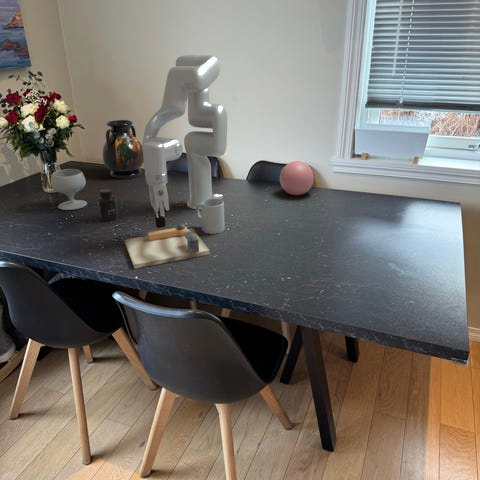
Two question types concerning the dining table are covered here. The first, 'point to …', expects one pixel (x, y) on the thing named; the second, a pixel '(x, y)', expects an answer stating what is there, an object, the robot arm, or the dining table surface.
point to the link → (166, 233)
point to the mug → (211, 215)
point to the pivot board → (165, 248)
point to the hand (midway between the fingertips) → (160, 226)
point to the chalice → (69, 187)
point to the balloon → (296, 178)
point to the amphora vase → (122, 150)
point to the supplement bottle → (107, 205)
